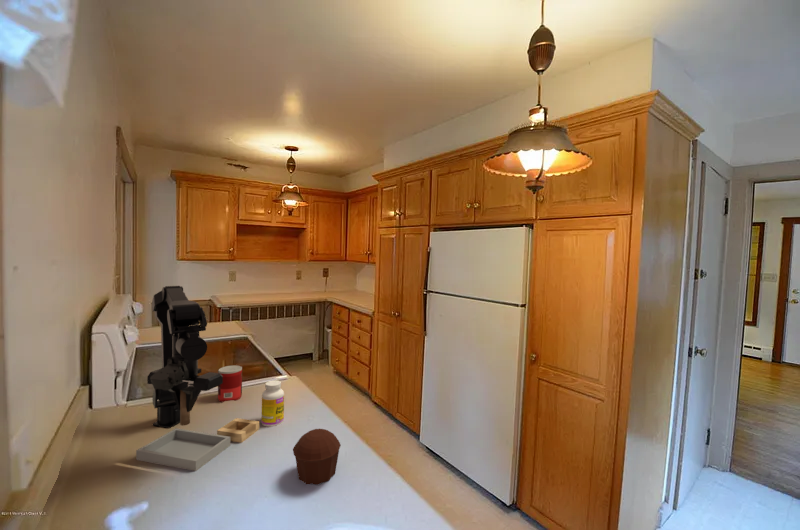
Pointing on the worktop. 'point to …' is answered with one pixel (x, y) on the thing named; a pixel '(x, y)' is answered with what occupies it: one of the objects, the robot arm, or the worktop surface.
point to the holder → (239, 429)
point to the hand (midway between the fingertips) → (185, 410)
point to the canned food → (230, 383)
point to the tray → (183, 449)
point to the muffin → (316, 456)
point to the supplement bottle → (272, 404)
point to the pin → (183, 410)
